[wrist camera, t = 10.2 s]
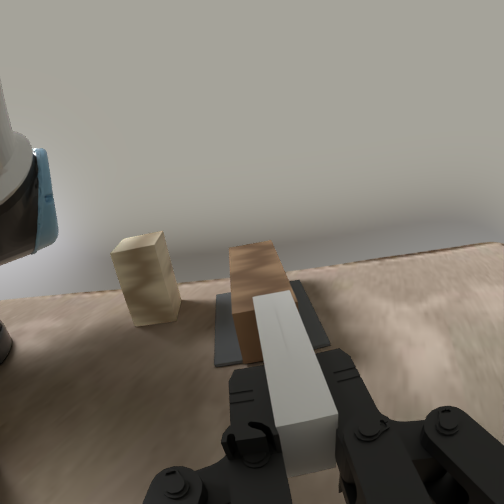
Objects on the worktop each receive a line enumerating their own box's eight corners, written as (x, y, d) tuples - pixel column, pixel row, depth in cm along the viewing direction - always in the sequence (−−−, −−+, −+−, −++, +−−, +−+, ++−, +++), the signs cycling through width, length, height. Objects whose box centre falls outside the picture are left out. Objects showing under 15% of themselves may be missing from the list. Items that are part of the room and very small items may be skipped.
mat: (215, 367, 27) (214, 364, 26) (217, 297, 39) (216, 294, 39) (330, 345, 27) (330, 342, 27) (299, 281, 39) (299, 279, 39)
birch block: (135, 326, 35) (110, 253, 32) (144, 305, 39) (123, 238, 36) (176, 321, 35) (154, 244, 32) (181, 299, 40) (163, 230, 36)
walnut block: (232, 313, 24) (228, 247, 38) (243, 364, 26) (236, 285, 40) (297, 301, 24) (271, 240, 38) (303, 352, 26) (276, 278, 40)
